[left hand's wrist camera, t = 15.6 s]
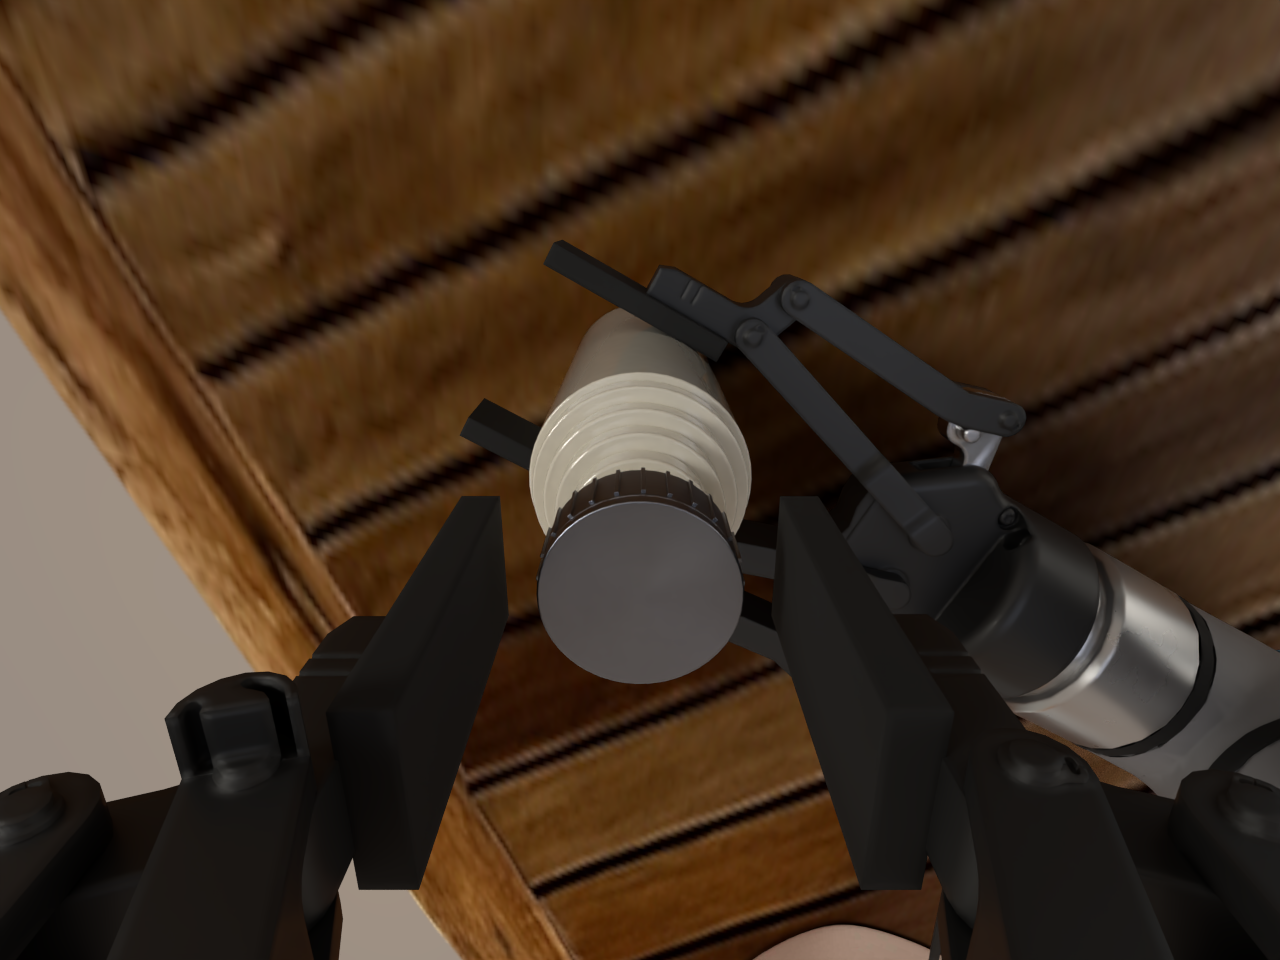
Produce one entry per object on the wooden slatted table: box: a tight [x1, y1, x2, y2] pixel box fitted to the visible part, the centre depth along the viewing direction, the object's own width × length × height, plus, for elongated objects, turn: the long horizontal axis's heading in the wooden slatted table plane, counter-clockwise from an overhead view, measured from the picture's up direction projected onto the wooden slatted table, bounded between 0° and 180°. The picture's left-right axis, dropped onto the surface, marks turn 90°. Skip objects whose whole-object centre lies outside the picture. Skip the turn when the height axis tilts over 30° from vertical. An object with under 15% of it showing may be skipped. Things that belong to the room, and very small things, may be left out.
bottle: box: [529, 308, 752, 535], centre depth 23 cm, size 6×6×20 cm
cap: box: [536, 467, 745, 684], centre depth 14 cm, size 4×4×2 cm
